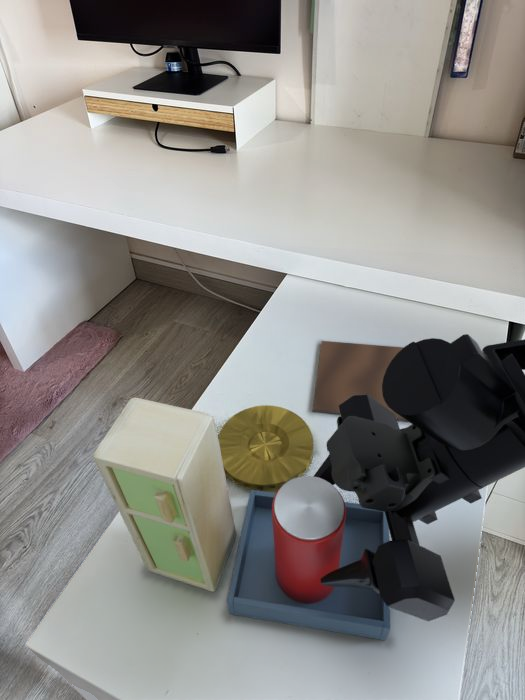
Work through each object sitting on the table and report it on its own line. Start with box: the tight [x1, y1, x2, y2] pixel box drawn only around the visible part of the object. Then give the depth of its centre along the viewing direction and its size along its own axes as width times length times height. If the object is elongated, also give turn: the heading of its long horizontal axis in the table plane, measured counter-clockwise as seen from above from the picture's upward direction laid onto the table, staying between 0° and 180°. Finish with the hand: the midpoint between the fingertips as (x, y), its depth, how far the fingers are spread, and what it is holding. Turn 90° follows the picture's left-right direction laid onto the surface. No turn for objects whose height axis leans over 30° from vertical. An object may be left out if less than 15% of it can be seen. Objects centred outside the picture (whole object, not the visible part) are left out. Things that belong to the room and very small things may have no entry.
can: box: [272, 475, 346, 604], centre depth 48 cm, size 6×6×13 cm
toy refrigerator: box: [92, 397, 237, 593], centre depth 47 cm, size 8×7×21 cm
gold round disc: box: [217, 404, 314, 493], centre depth 63 cm, size 12×12×2 cm
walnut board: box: [312, 340, 408, 422], centre depth 72 cm, size 16×14×1 cm
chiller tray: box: [226, 489, 391, 641], centre depth 52 cm, size 15×12×3 cm
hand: (316, 532), depth 47 cm, fingers open, 9 cm apart
